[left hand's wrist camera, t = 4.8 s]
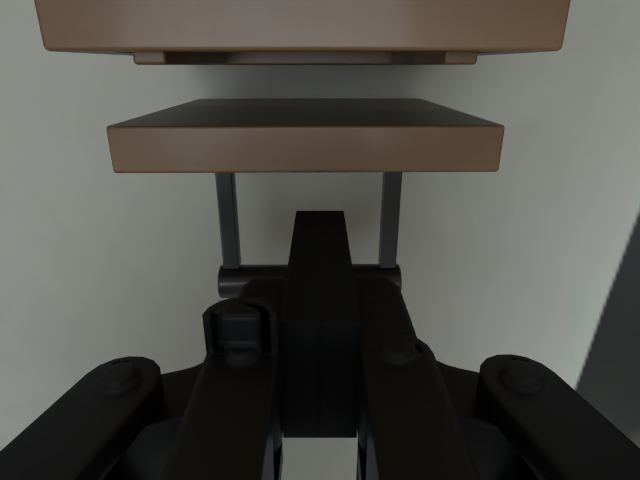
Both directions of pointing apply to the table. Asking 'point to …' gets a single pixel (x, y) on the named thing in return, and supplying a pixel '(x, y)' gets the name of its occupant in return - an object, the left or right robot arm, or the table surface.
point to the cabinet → (302, 26)
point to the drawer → (304, 143)
